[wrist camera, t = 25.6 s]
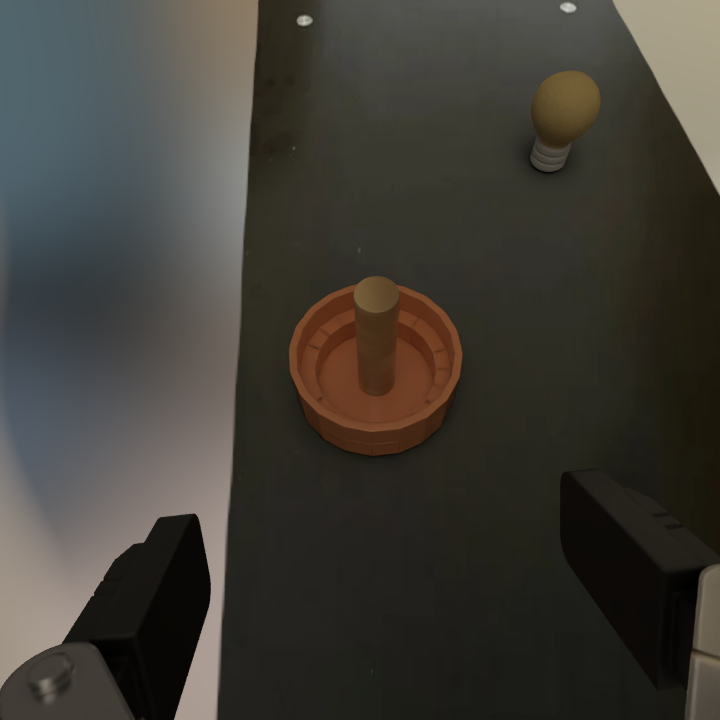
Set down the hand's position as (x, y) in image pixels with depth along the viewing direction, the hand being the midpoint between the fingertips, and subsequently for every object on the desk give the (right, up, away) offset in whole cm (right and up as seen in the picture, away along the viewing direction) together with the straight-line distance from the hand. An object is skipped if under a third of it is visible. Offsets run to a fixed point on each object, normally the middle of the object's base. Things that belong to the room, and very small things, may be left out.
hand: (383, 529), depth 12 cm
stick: (+1, +2, +34) cm, 34 cm away
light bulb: (+20, +25, +48) cm, 57 cm away
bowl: (+1, +2, +34) cm, 34 cm away
